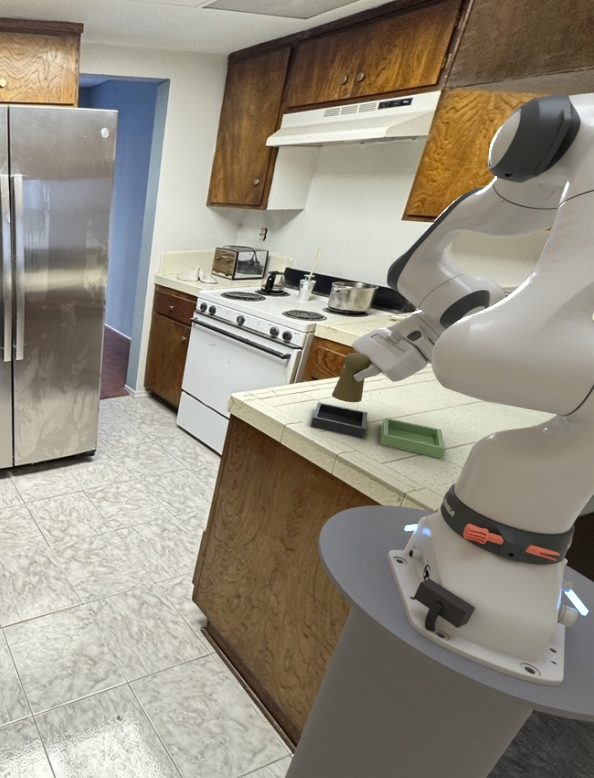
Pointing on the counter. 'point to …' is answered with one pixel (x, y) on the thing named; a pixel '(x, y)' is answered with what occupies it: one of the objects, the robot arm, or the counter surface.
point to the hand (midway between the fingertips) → (350, 374)
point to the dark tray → (340, 420)
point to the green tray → (412, 437)
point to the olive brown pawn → (351, 378)
